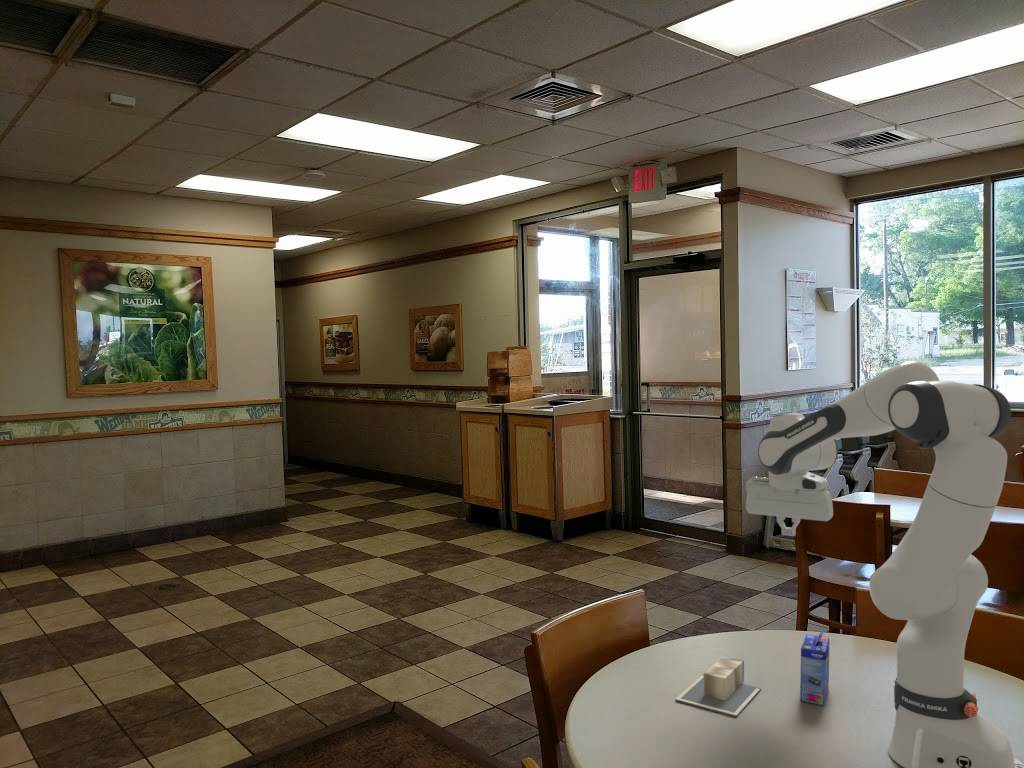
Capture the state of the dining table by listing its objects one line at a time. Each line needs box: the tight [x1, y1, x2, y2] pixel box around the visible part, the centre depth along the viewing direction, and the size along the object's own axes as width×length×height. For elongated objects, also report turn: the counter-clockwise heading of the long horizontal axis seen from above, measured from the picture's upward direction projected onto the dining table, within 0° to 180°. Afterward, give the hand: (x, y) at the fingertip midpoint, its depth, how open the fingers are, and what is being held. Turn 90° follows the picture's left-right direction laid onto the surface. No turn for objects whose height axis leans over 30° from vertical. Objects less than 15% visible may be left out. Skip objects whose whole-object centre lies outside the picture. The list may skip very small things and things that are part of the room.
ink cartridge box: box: [799, 630, 830, 706], centre depth 169 cm, size 10×6×14 cm, turn 152°
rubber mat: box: [674, 673, 762, 718], centre depth 170 cm, size 14×16×1 cm
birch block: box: [703, 655, 745, 701], centre depth 173 cm, size 5×5×12 cm
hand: (788, 535), depth 183 cm, fingers closed
